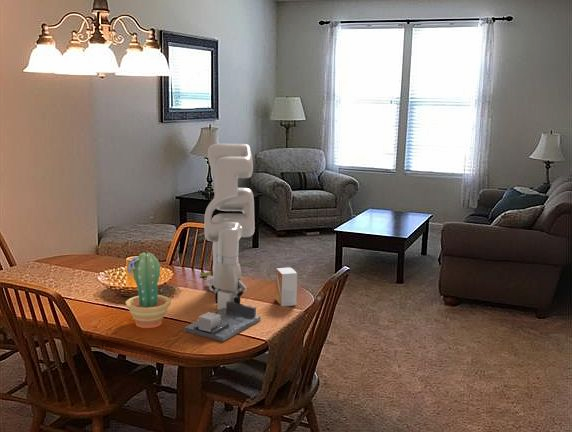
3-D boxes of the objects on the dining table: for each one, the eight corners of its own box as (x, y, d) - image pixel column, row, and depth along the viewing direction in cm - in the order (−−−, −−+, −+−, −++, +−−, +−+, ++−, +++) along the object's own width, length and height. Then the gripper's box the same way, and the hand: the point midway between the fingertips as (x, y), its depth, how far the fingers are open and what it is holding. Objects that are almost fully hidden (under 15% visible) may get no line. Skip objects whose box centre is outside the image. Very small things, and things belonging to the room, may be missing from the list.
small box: (275, 299, 247) (275, 268, 244) (290, 298, 249) (291, 267, 246) (280, 306, 239) (281, 273, 237) (296, 305, 241) (297, 272, 238)
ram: (198, 329, 210) (198, 316, 209) (212, 321, 216) (212, 309, 215) (210, 332, 207) (210, 319, 206) (224, 324, 214) (224, 312, 213)
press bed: (184, 331, 212) (184, 318, 211) (223, 311, 232) (223, 300, 231) (223, 341, 204) (223, 328, 204) (260, 320, 224) (260, 308, 223)
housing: (217, 309, 234) (217, 289, 233) (226, 304, 239) (226, 285, 238) (228, 311, 232) (228, 292, 230) (237, 307, 237) (237, 288, 236)
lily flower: (222, 272, 283) (222, 262, 282) (229, 279, 272) (229, 269, 271) (195, 274, 279) (195, 264, 278) (201, 282, 268) (201, 272, 267)
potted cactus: (142, 312, 228) (141, 246, 223) (179, 319, 223) (179, 251, 218) (116, 327, 214) (114, 256, 209) (155, 334, 209) (154, 262, 204)
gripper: (203, 258, 233) (202, 303, 236) (242, 265, 225) (241, 312, 228) (215, 253, 239) (214, 297, 243) (253, 260, 231) (252, 306, 234)
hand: (227, 304), depth 235 cm, fingers open, 7 cm apart
